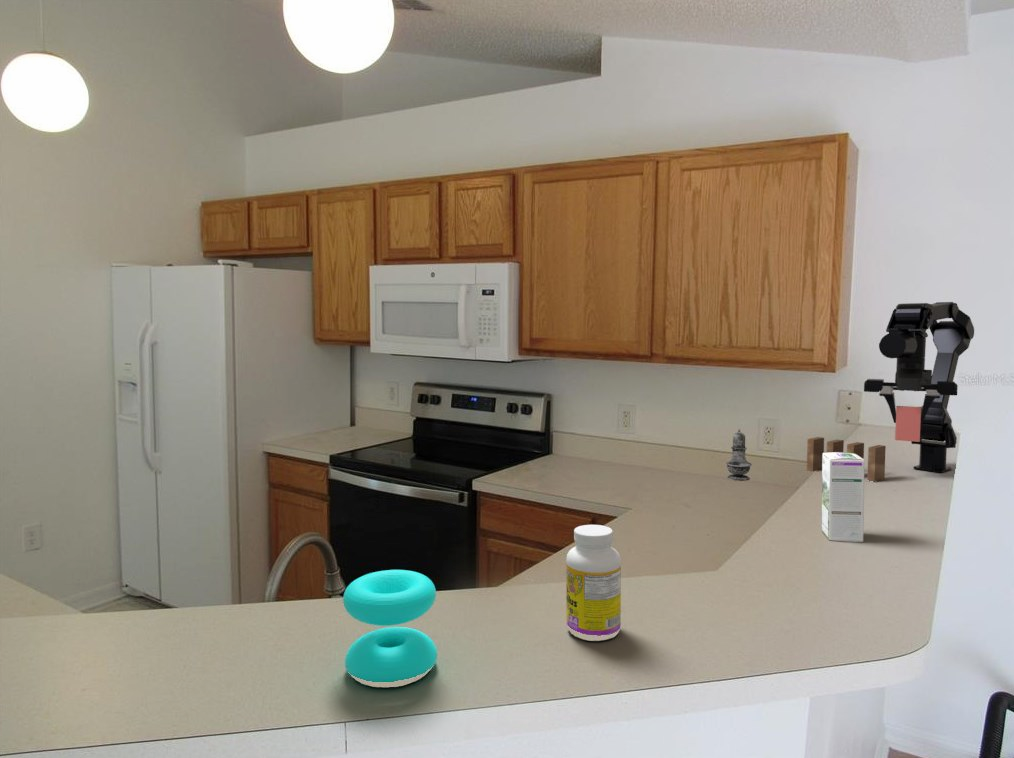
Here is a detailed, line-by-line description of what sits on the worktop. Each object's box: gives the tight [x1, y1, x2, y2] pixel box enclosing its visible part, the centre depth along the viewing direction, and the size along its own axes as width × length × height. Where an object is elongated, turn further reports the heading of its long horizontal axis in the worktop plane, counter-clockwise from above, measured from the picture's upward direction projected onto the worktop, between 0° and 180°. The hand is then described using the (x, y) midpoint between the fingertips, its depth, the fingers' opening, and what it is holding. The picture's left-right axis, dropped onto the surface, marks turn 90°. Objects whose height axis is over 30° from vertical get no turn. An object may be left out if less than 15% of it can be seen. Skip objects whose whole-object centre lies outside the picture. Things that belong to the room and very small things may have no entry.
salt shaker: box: [725, 428, 752, 482], centre depth 166 cm, size 6×6×12 cm
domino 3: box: [846, 441, 865, 460], centre depth 167 cm, size 2×5×8 cm, turn 127°
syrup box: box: [820, 451, 865, 543], centre depth 121 cm, size 6×6×14 cm
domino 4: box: [867, 444, 887, 483], centre depth 163 cm, size 2×5×8 cm, turn 127°
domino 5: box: [894, 405, 922, 442], centre depth 163 cm, size 2×5×8 cm, turn 58°
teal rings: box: [342, 569, 438, 682], centre depth 76 cm, size 10×10×10 cm
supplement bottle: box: [565, 524, 622, 636], centre depth 85 cm, size 7×7×13 cm
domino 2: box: [826, 439, 845, 453], centre depth 171 cm, size 2×5×8 cm, turn 127°
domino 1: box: [806, 436, 825, 472], centre depth 175 cm, size 2×5×8 cm, turn 127°
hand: (908, 423), depth 163 cm, fingers closed on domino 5, 5 cm apart
